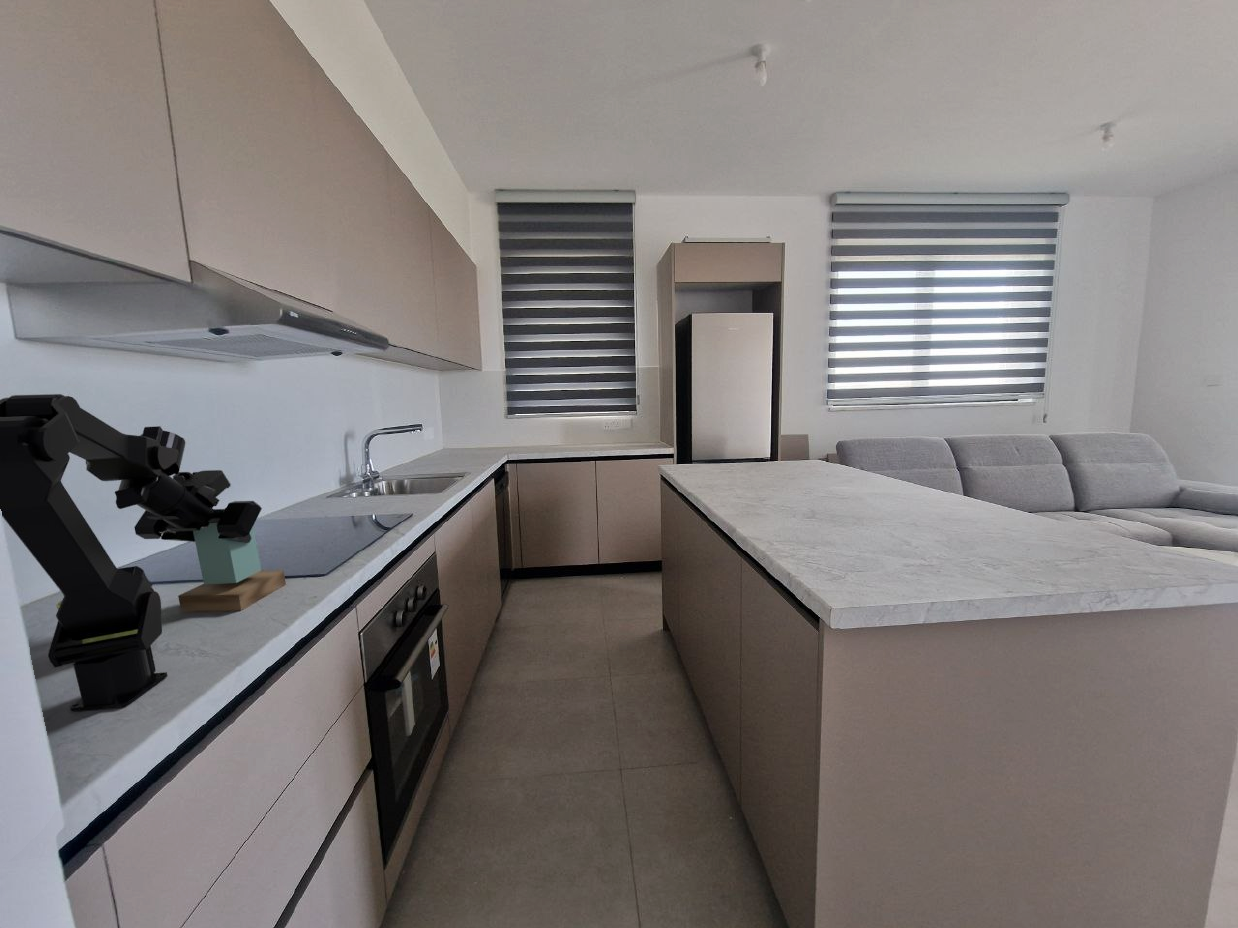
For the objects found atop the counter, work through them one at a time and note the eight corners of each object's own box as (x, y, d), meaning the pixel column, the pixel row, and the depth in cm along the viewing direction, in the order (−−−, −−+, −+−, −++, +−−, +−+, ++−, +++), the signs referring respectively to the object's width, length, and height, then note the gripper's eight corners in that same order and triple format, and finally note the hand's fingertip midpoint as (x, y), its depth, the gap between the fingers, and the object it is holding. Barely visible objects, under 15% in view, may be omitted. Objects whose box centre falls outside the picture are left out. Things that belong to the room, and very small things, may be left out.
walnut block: (241, 610, 83) (238, 594, 83) (181, 611, 83) (178, 595, 83) (285, 584, 94) (283, 570, 94) (232, 585, 94) (230, 571, 94)
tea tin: (236, 583, 85) (223, 517, 83) (203, 584, 85) (189, 519, 83) (262, 569, 91) (251, 508, 89) (231, 571, 91) (219, 510, 89)
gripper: (244, 456, 80) (298, 503, 93) (138, 459, 80) (206, 505, 93) (212, 513, 74) (274, 554, 86) (96, 515, 74) (176, 557, 87)
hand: (233, 540), depth 88 cm, fingers closed on tea tin, 6 cm apart
